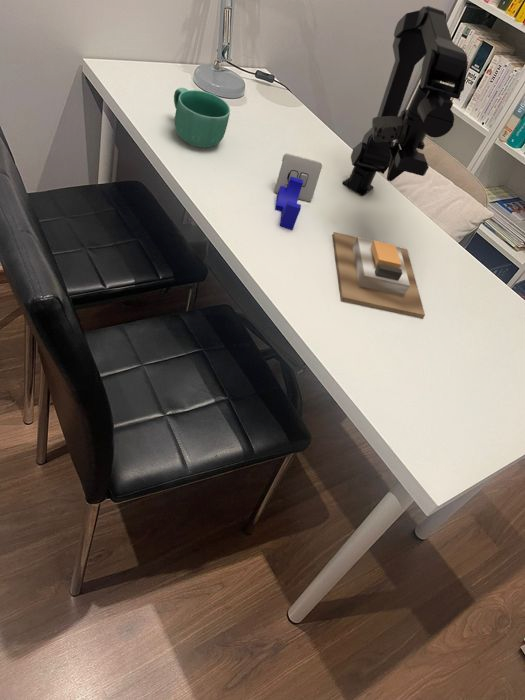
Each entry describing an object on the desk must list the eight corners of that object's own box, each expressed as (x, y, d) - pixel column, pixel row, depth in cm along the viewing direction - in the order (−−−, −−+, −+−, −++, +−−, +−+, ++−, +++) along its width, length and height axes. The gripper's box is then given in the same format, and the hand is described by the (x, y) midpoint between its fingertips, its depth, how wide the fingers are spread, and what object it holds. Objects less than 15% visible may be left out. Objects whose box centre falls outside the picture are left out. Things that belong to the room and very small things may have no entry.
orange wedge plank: (370, 246, 123) (373, 240, 122) (392, 251, 124) (395, 245, 123) (376, 265, 118) (379, 259, 117) (398, 270, 119) (401, 264, 118)
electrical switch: (273, 193, 135) (284, 156, 129) (272, 184, 139) (283, 147, 133) (311, 203, 137) (324, 167, 131) (309, 193, 141) (321, 157, 135)
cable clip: (276, 196, 135) (284, 174, 131) (294, 202, 135) (303, 180, 131) (272, 225, 126) (280, 202, 122) (292, 230, 127) (300, 208, 123)
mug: (231, 151, 143) (240, 115, 136) (189, 156, 136) (196, 118, 129) (196, 116, 150) (203, 81, 143) (154, 119, 143) (160, 82, 136)
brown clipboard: (332, 235, 130) (341, 213, 125) (405, 252, 133) (416, 231, 129) (340, 300, 115) (352, 278, 111) (422, 318, 118) (436, 297, 114)
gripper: (378, 83, 120) (350, 150, 131) (391, 124, 108) (359, 194, 119) (426, 97, 123) (395, 162, 134) (445, 139, 110) (408, 207, 121)
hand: (388, 180), depth 127 cm, fingers closed
